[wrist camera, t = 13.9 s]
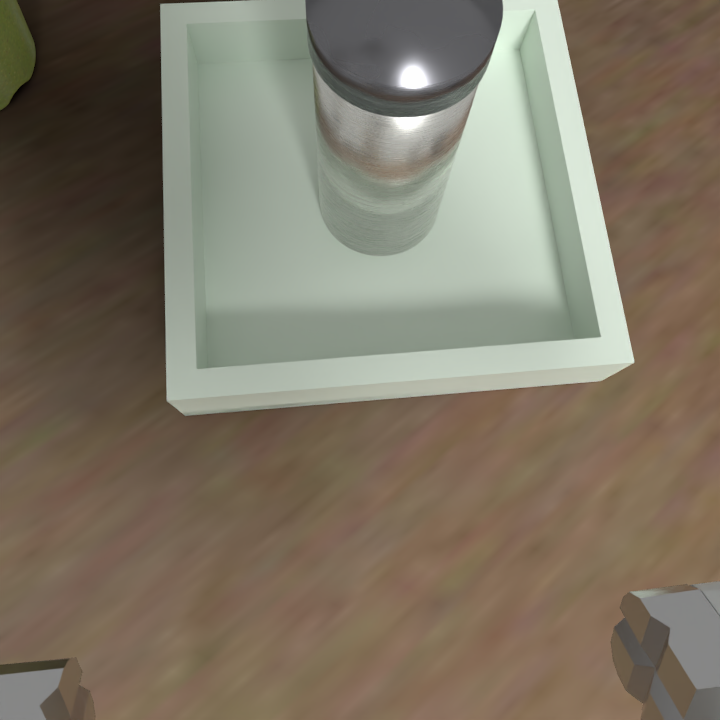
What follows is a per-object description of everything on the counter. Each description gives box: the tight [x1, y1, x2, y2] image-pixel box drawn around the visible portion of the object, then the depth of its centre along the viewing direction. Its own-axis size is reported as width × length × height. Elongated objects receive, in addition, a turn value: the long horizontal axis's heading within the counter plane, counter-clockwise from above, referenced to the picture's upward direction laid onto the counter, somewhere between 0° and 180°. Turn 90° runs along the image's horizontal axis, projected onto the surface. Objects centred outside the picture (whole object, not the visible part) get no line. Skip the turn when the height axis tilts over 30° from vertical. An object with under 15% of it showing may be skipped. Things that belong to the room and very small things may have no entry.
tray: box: [160, 0, 634, 416], centre depth 25 cm, size 16×16×3 cm
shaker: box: [305, 0, 503, 256], centre depth 21 cm, size 5×5×10 cm
